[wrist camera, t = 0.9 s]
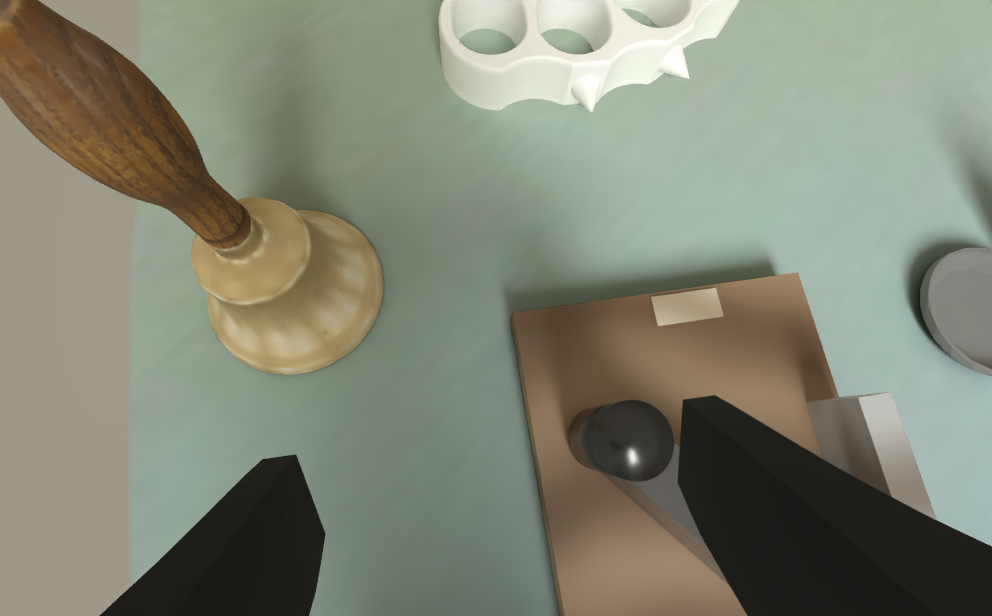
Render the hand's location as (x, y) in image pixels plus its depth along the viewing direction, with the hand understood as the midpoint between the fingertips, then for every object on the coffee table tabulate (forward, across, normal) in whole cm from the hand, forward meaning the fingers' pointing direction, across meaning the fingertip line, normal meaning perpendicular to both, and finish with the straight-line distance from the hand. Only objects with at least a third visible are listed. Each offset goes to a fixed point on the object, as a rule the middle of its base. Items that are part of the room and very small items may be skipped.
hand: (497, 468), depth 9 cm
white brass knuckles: (+26, -8, -10) cm, 29 cm away
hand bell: (+16, +9, +2) cm, 18 cm away
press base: (+9, -8, +11) cm, 16 cm away
